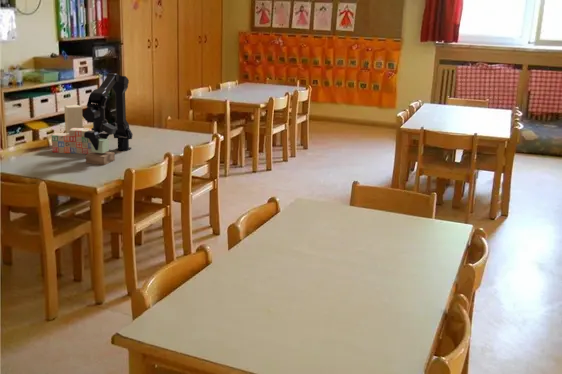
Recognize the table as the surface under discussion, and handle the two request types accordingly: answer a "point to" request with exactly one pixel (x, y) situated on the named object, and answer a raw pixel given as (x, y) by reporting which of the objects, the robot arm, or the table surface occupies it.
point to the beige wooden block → (73, 117)
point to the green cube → (101, 146)
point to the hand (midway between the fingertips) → (100, 148)
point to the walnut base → (100, 158)
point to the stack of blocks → (72, 141)
